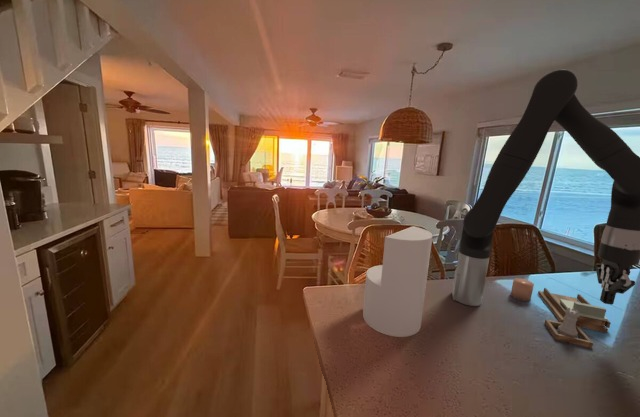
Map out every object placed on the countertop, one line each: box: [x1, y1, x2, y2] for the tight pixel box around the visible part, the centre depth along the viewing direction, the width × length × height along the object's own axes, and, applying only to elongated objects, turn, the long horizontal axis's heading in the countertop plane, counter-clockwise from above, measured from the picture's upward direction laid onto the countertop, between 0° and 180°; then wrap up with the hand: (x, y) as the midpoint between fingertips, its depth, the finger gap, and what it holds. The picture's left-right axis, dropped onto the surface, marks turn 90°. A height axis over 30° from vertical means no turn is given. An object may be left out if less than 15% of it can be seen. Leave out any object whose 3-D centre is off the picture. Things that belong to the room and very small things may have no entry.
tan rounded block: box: [510, 277, 535, 302], centre depth 98 cm, size 6×6×6 cm
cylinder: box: [362, 225, 433, 338], centre depth 79 cm, size 17×17×28 cm
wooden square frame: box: [544, 318, 594, 349], centre depth 77 cm, size 8×8×2 cm
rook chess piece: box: [556, 308, 580, 338], centre depth 76 cm, size 4×4×8 cm
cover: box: [559, 299, 609, 321], centre depth 84 cm, size 8×8×4 cm
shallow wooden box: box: [537, 287, 611, 334], centre depth 89 cm, size 12×20×3 cm, turn 157°
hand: (606, 302), depth 74 cm, fingers closed
